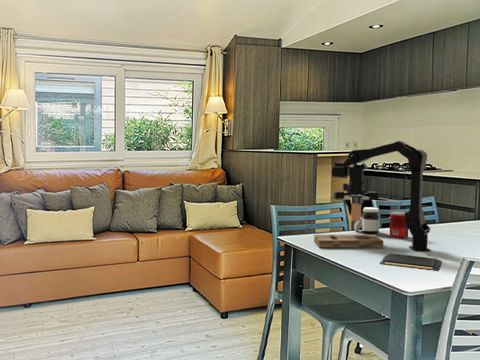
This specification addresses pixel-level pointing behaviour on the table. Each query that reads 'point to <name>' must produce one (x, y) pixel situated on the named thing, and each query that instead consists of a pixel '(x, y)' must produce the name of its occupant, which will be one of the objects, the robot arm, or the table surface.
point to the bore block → (348, 241)
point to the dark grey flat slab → (411, 262)
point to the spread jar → (368, 221)
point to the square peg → (355, 212)
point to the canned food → (398, 225)
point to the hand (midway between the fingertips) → (355, 214)
